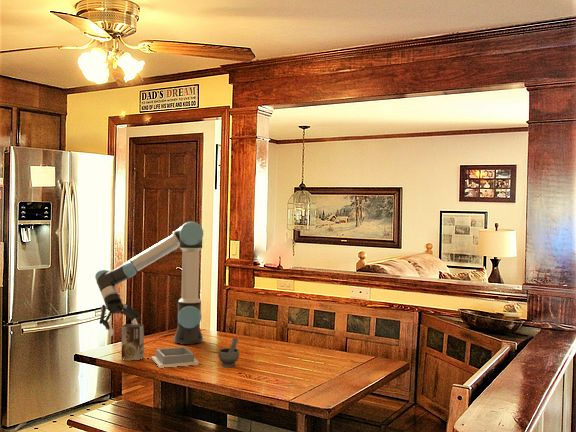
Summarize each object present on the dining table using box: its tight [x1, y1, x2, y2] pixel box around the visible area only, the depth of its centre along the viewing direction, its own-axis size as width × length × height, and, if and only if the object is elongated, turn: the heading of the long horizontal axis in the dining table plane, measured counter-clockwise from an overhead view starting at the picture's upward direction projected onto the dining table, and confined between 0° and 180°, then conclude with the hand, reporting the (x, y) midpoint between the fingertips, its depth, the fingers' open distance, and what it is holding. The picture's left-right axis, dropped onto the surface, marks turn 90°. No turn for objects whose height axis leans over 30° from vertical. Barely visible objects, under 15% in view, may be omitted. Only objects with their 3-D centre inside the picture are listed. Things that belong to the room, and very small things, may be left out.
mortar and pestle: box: [217, 337, 240, 368], centre depth 278 cm, size 11×9×12 cm
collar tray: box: [150, 346, 200, 369], centre depth 282 cm, size 18×18×5 cm
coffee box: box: [121, 323, 145, 361], centre depth 287 cm, size 9×6×16 cm
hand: (125, 332), depth 289 cm, fingers open, 13 cm apart
